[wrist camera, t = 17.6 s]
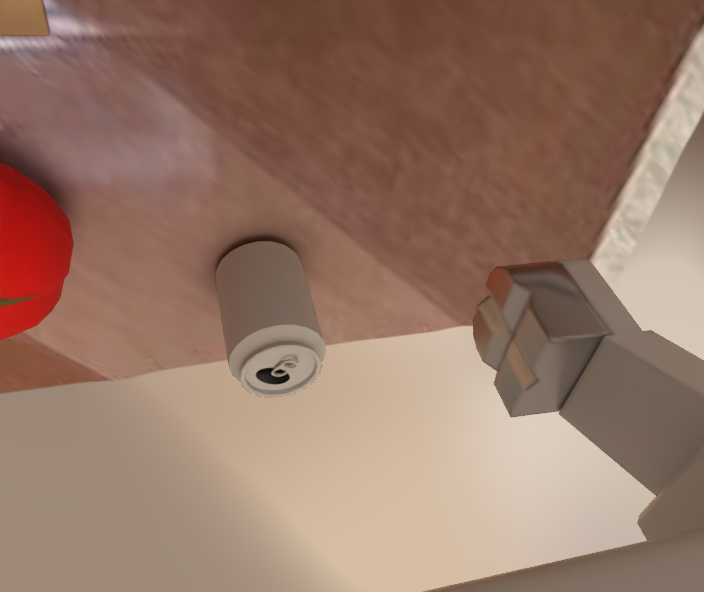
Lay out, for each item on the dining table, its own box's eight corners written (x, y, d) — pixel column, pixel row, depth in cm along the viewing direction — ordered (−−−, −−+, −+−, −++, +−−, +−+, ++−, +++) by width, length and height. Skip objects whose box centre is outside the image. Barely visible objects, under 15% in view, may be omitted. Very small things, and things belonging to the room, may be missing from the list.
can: (197, 281, 56) (212, 393, 48) (245, 221, 53) (269, 330, 45) (268, 307, 61) (292, 413, 53) (316, 253, 57) (350, 357, 49)
